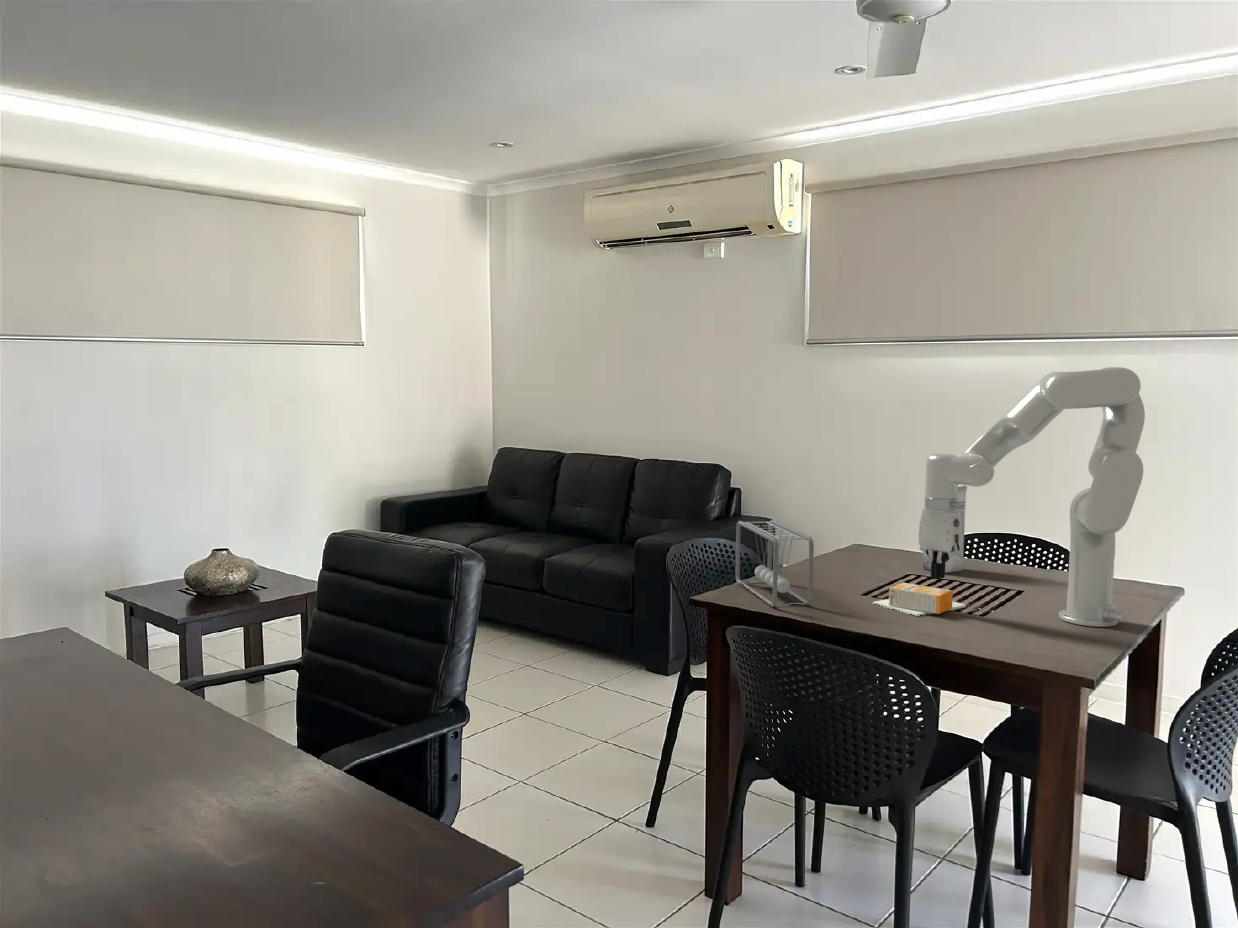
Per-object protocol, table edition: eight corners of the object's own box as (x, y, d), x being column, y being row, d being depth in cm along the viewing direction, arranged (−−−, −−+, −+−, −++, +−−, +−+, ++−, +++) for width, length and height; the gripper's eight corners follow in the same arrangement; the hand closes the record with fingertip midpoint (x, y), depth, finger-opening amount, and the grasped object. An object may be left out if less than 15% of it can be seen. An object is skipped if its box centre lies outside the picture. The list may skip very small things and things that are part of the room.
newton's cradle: (734, 582, 259) (735, 519, 257) (770, 580, 261) (771, 518, 259) (773, 609, 229) (774, 539, 227) (812, 607, 231) (814, 537, 230)
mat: (965, 607, 232) (965, 604, 232) (916, 616, 223) (916, 614, 223) (921, 595, 244) (921, 593, 244) (872, 604, 235) (872, 601, 235)
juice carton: (967, 571, 273) (971, 481, 270) (939, 574, 269) (942, 482, 266) (945, 565, 281) (949, 477, 278) (918, 568, 277) (921, 479, 274)
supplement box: (940, 595, 222) (888, 586, 230) (939, 614, 222) (888, 605, 231) (953, 589, 228) (902, 581, 237) (952, 608, 228) (902, 600, 237)
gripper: (976, 507, 222) (973, 582, 224) (926, 499, 234) (923, 570, 236) (956, 509, 218) (952, 586, 220) (906, 501, 230) (903, 573, 232)
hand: (937, 577), depth 228 cm, fingers closed
